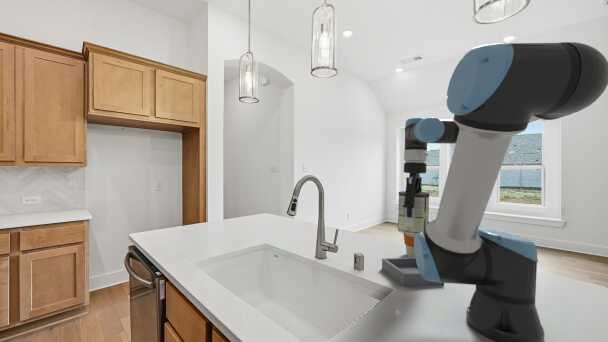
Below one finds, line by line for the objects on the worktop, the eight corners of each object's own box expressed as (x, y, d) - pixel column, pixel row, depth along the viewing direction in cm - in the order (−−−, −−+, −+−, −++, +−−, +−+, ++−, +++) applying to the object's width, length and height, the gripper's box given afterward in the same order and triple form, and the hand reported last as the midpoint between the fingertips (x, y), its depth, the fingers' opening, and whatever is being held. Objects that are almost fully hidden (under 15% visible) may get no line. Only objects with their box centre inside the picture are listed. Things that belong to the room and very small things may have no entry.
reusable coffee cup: (415, 262, 110) (417, 226, 110) (396, 252, 122) (397, 220, 122) (439, 259, 114) (440, 224, 114) (418, 250, 126) (419, 219, 126)
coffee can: (394, 227, 101) (395, 190, 101) (422, 229, 100) (423, 191, 100) (401, 234, 91) (402, 193, 91) (432, 236, 90) (434, 194, 90)
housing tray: (444, 283, 90) (444, 272, 90) (403, 286, 87) (404, 274, 87) (417, 267, 104) (417, 257, 104) (381, 268, 102) (382, 258, 102)
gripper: (420, 161, 84) (417, 231, 84) (431, 163, 102) (429, 220, 103) (395, 161, 88) (393, 227, 88) (411, 162, 107) (409, 218, 107)
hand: (412, 224), depth 96 cm, fingers closed on coffee can, 10 cm apart
